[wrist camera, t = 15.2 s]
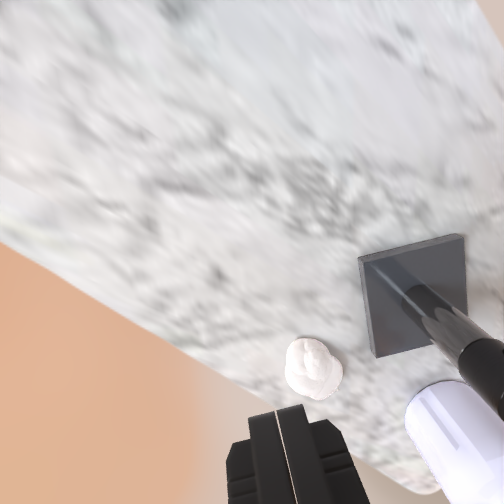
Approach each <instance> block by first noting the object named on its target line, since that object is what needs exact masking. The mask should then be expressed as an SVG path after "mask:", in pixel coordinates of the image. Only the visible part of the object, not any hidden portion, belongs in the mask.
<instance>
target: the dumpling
mask: <svg viewBox="0 0 504 504" xmlns="http://www.w3.org/2000/svg"><path fill="white" fill-rule="evenodd" d="M342 375H343V369H342V365H341V363H340V361H338V360H337V358H335V357H334V356H331V354H330V353H329V350H328V349H327V347H326V346H325V345H324V344H323V343H321V342H320V341H318V340H316V339H309V338H299V339H297V340H295V341H294V342H292V344H291V345H290V346H289V348H288V350H287V365H286V367H285V376H286V380H287V382H288V384H289V385H290V386H291V388H292V389H293V390H294V391H296V392H297V393H299V394H302V395H304V396H310V397H311V398H313V399H315V400H323V399H325V398H327V397H328V396H330V395H331V394H332V393H333V392H334V391H335V390H336V389H337V387H338V386H339V384H340V381H341V380H342ZM338 390H339V388H338V389H337V390H336V391H338Z"/></svg>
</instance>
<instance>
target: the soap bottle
mask: <svg viewBox="0 0 504 504" xmlns="http://www.w3.org/2000/svg"><path fill="white" fill-rule="evenodd" d="M405 429H406V431H407V432H408V434H409V436H410V438H411V439H412V441H413V443H414V444H415V446H416V447H417V449H418V451H419V452H420V454H421V456H422V457H423V459H424V461H425V462H426V464H427V465H428V467H429V469H430V470H431V472H432V474H433V475H434V477H435V479H436V480H437V482H438V483H439V485H440V487H441V488H442V490H443V492H444V493H445V495H446V497H447V498H448V500H449V501H450V503H451V504H504V421H502V420H501V418H500V417H499V416H498V415H497V414H496V413H495V412H494V411H493V410H492V409H491V408H490V407H489V406H488V405H487V403H486V402H485V401H484V400H483V399H482V398H481V397H480V396H479V395H478V394H477V393H476V392H475V391H474V390H473V389H472V388H471V387H470V386H468V385H467V384H464V383H460V382H456V381H444V382H438V383H436V384H433V385H430V386H428V387H426V388H425V389H423V390H422V391H421V392H419V393H418V394H417V395H416V396H415V397H414V398H413V400H412V401H411V402H410V403H409V405H408V407H407V410H406V413H405Z"/></svg>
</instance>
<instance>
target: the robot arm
mask: <svg viewBox="0 0 504 504" xmlns="http://www.w3.org/2000/svg"><path fill="white" fill-rule="evenodd" d="M277 415H278V420H279V424H280V428H281V433H282V437H283V442H284V446H285V450H286V455H287V459H288V463H289V468H290V472H291V476H292V481H293V485H294V489H295V494H296V498H297V502H298V504H370V502H369V499H368V497H367V495H366V492H365V490H364V487H363V485H362V482H361V480H360V478H359V475H358V473H357V470H356V468H355V466H354V463H353V461H352V458H351V456H350V453H349V452H348V448H347V446H346V443H345V441H344V438H343V436H342V434H341V431H339V430H338V429H337V428H336V427H335V426H334V425H333V424H332V423H331V422H330V421H329V420H327V419H325V420H321V421H317V422H314V423H310V424H309V423H308V420H307V416H306V413H305V410H304V407H303V405H302V404H300V405H296V406H292V407H288V408H284V409H280V410H277ZM248 423H249V430H250V438H251V439H248V440H244V441H240V442H236V443H233V444H232V447H231V450H230V452H229V455H228V457H227V460H226V468H227V469H226V470H227V482H228V483H227V488H228V498H229V499H228V504H297V503H296V499H295V494H294V490H293V486H292V481H291V477H290V473H289V468H288V464H287V460H286V456H285V452H284V448H283V444H282V440H281V436H280V432H279V428H278V424H277V420H276V416H275V412H274V411H273V412H269V413H265V414H261V415H257V416H253V417H249V418H248Z"/></svg>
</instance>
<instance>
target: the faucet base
mask: <svg viewBox="0 0 504 504" xmlns="http://www.w3.org/2000/svg"><path fill="white" fill-rule="evenodd" d="M358 263H359V270H360V276H361V283H362V290H363V297H364V304H365V311H366V318H367V325H368V332H369V338H370V345H371V351H372V353H373V354H374V356H375V357H376V358H380V357H384V356H388V355H392V354H396V353H400V352H404V351H408V350H412V349H416V348H420V347H424V346H428V345H432V344H435V345H436V347H437V348H438V349H439V350H440V351H441V352H442V353H443V354H444V355H445V356H446V357H447V358H448V359H449V360H450V361H451V362H452V363H453V365H454V366H455V367H456V368H457V369H458V364H459V360H460V357H461V355H462V353H463V352H464V351H465V350H466V348H467V347H469V346H470V345H471V344H473V343H474V342H476V341H479V340H482V339H487V338H492V337H491V336H490V335H489V334H488V333H486V332H485V331H484V330H483V329H481V328H480V327H479V326H478V325H477V324H475V323H474V322H473V321H472V320H470V319H469V318H468V312H467V292H466V272H465V252H464V238H463V237H461V236H459V235H457V234H451V235H447V236H443V237H439V238H435V239H431V240H427V241H423V242H419V243H415V244H411V245H407V246H403V247H399V248H395V249H391V250H387V251H383V252H379V253H374V254H370V255H366V256H362V257H358ZM492 339H494V338H492ZM458 370H459V369H458Z"/></svg>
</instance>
